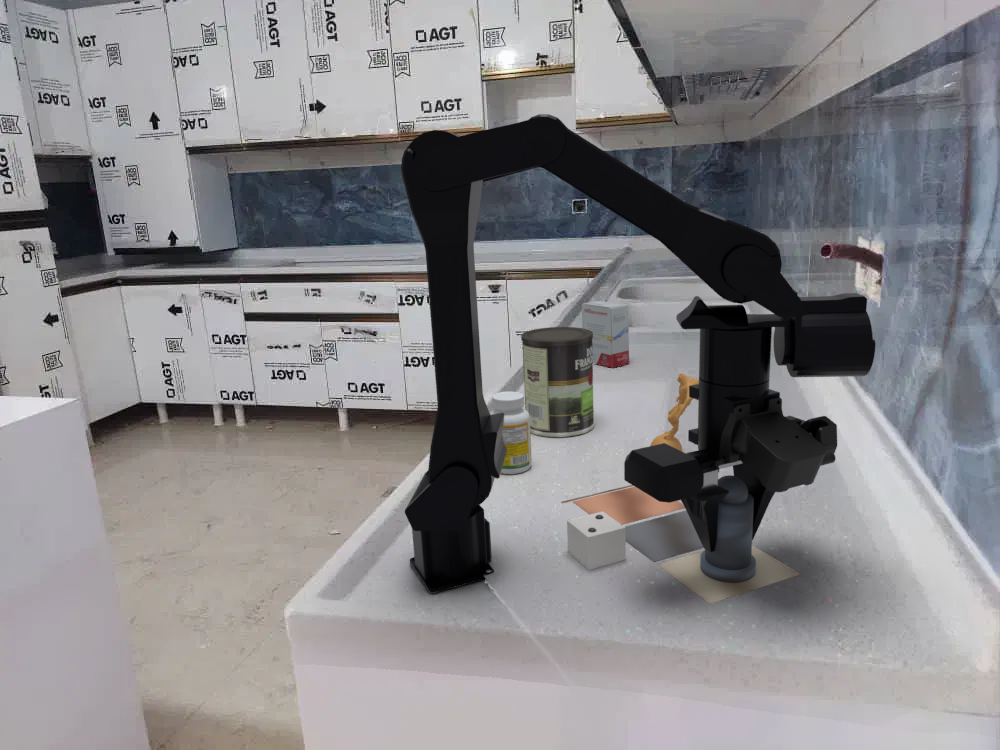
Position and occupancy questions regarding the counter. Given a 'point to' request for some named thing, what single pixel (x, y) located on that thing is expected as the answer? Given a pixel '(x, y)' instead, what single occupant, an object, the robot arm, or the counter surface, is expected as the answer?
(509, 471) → the supplement bottle
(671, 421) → the figurine
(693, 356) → the counter surface
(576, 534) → the white die
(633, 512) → the game board
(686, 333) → the counter surface
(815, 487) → the counter surface
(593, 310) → the ink box
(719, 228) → the robot arm
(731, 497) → the pawn
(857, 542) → the counter surface
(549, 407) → the coffee can
